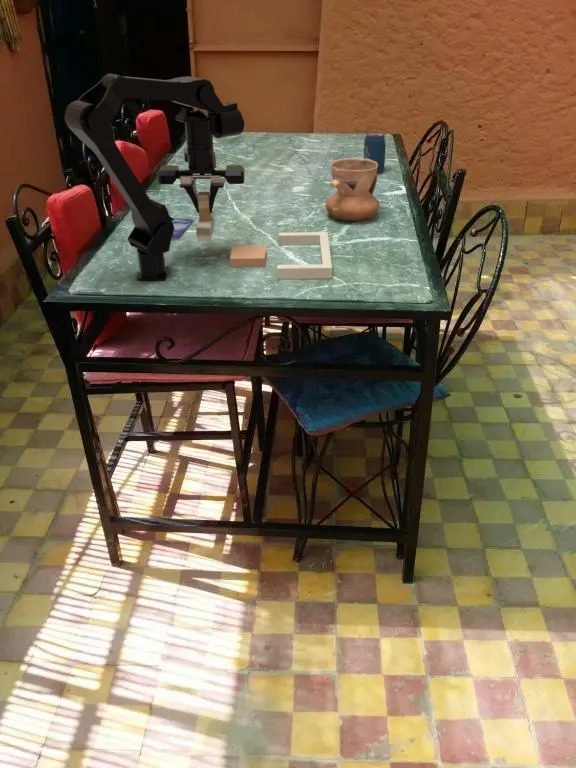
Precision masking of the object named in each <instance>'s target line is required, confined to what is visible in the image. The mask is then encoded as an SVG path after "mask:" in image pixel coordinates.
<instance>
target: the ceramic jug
mask: <svg viewBox="0 0 576 768" xmlns="http://www.w3.org/2000/svg"><path fill="white" fill-rule="evenodd" d="M377 168H378V164H377V162H375V161H372V160H370V159H364V157H363V158H362V157H346V158H345V157H344V158H340V159H336V160H334V161H332V162H331V163H330V172H331V176H332V177H331V178H332V179H333V180H331V181H330V182H329V186H330V187H332V188H336V190H337V191H335V193H333V194H332V195H330V196H329V197H328V198H327V200H326V203H325V208H326V211H327V213H328V214H329V215H330V216H331V217H333V218H334V219H338V220H341V221H345V222H346V221H349V222H357V221H358V222H359V221H364V220H367V219H370V218H372V217H374V216H375V215H377V213H378V212H379V210H380V202H379V200H378V199H377V197H375V195H373V194H374V192H375V189H376V186H377V182H378V174H377Z"/></svg>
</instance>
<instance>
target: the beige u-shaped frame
mask: <svg viewBox="0 0 576 768" xmlns="http://www.w3.org/2000/svg"><path fill="white" fill-rule="evenodd" d="M328 234H329V233H328V231H320V232H319V231H315V232H312V231H311V232H308V231H307V232H306V231H305V232H302V231H301V232H299V231H297V232H279V233H278V246H319V252H320V254H319V256H320V263H319V264H315V263H314V264H277V266H276V269H277V270H276V272H277V273H276V274H277V280H309V279H310V280H312V279H313V280H314V279H321V280H322V279H326V280H327V279H329V280H330V279H332V278H333V266H332V265H333V264H332V257H331V249H330V241H329V235H328Z"/></svg>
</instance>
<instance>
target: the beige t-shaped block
mask: <svg viewBox="0 0 576 768" xmlns="http://www.w3.org/2000/svg"><path fill="white" fill-rule="evenodd" d="M197 194H198V206H199V213H198V221H197V224H196V226H195V227H196V228H195V229H196V230H195V233H196V241H197V242H211V241H212V240H211V239H212V236H213V232H214V228H215V224H216V221H215V219H216V218H215V210H212V213H210V210H209V200H210V191H198V192H197Z"/></svg>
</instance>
